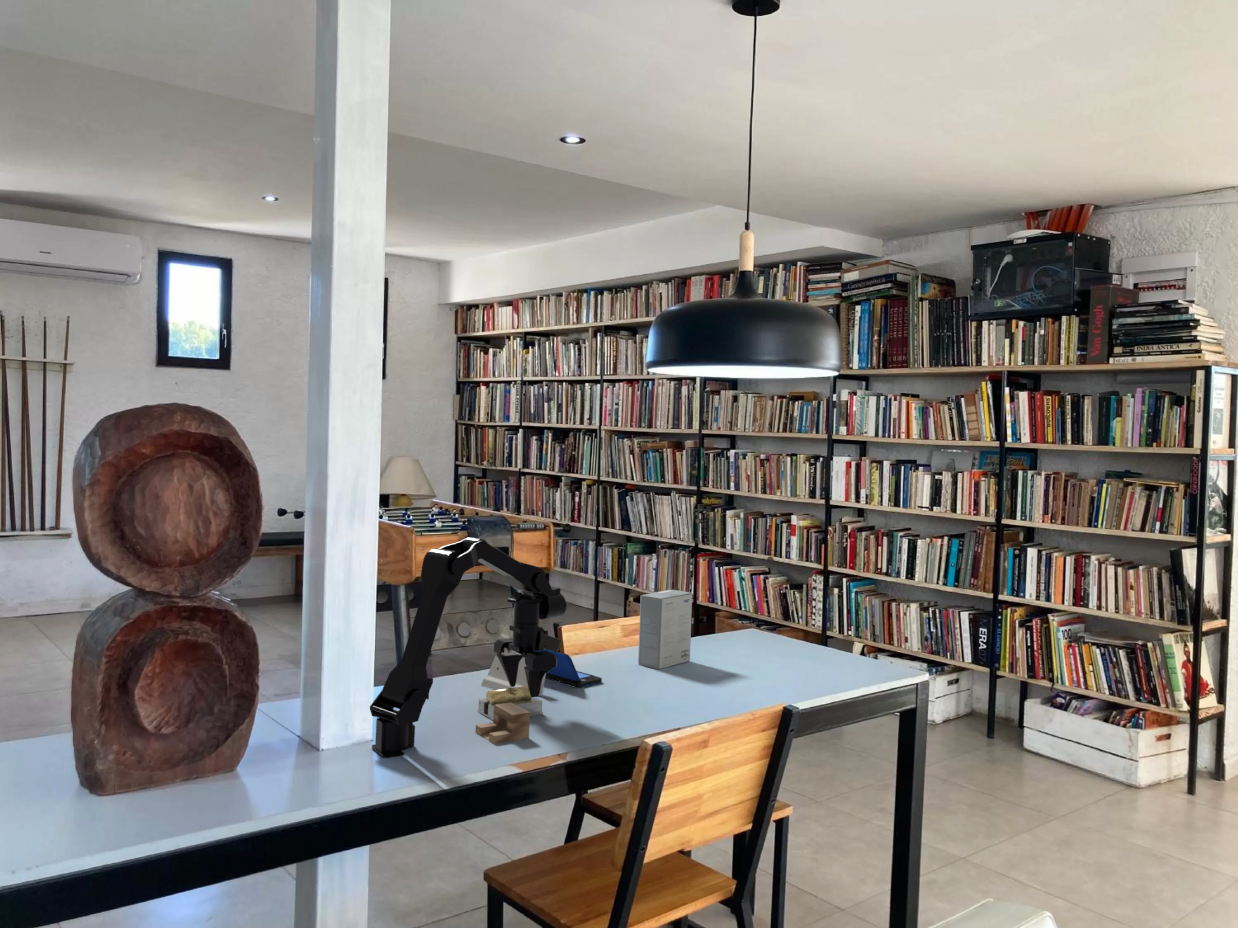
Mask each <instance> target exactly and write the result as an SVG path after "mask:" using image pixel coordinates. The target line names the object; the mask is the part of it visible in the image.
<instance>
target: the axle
mask: <svg viewBox="0 0 1238 928" xmlns="http://www.w3.org/2000/svg"><path fill="white" fill-rule="evenodd" d="M485 698H486V700H487V703H488V704H496V703H504V702H511V701H519V700H526V699H531V698H532V699H533V697H531V695H530V692H529V688H528V686H524V687H516V688H508V689H500V690H494V689H491V690H488V691H487V692H486V696H485Z"/></svg>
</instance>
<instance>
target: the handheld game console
mask: <svg viewBox="0 0 1238 928" xmlns="http://www.w3.org/2000/svg"><path fill="white" fill-rule="evenodd" d="M544 651H548V652H550V653H553V654H554V655H555V656H556V657H557V667H553V669H552V670H549V671H548V672H546V676H545V680H549V681H552V680H553V682H558V681H560V682H559V683H561V684H563V683H564V684H563V685H566V684H567V686H569V685H570V686H569V687H573V686H574V687H573V688H576V689H581V688H585V687H588V686H592V685H593V684H594V685H597V683H598V684H601V683H602V682H603V681H602V679H603V678H602V677H600V676H598V675H597V676H595V675H594V674H590V673H585V672H582V671H578V670H577V669H576V666H575V664H574V662H573V659H572V657H571V656H570V655H569V654H567V653H565V652H564V653H563V652H560V651H558V653H554V652H553V651H550V650H547V649H545V648H544ZM536 652H539V651H536ZM594 685H593V686H594ZM584 686H585V687H584Z"/></svg>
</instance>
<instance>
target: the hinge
mask: <svg viewBox="0 0 1238 928" xmlns="http://www.w3.org/2000/svg"><path fill="white" fill-rule="evenodd" d="M524 667H527V666H526V664H525V658H524V657H523V658H522V659H521V660H520V662H519V666H518V673H517V680H516V685H515V686H514V687H511V686H510V684H509V682H508V679H507V677H506V674H505V672H504V669H503V667H502V665H501V663H500V661H499V658H498V657H497V655H495V656H494V659H493V661H492V662H491V666H490V669H489V671H488V673H487V675H485V677H484V678H483V680H482V682H481V687H484V688H487V689H491V690H500V689H508V688H516V687H524V686H528V683H527V678H526V674H525V669H524ZM545 676H546V673H545V675H544V677H543V679H542V681H541V684H540V686H539V689H538V692H537V694H536V696H538V697H542V696H543V691H544V687H545V681H546V679H545Z"/></svg>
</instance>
